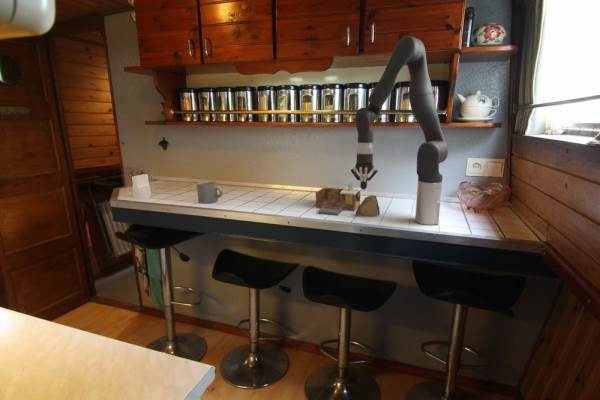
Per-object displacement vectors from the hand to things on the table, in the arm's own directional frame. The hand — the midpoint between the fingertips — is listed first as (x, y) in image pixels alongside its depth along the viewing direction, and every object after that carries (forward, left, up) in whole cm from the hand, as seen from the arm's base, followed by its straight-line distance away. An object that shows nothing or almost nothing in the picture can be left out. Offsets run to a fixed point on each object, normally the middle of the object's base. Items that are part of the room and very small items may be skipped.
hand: (363, 189), depth 163 cm
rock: (-4, +11, -10) cm, 15 cm away
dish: (+13, +12, -10) cm, 20 cm away
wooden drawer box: (+12, 0, -10) cm, 15 cm away
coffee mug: (+78, +14, -10) cm, 80 cm away
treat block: (+6, 0, -8) cm, 10 cm away
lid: (+6, 0, -2) cm, 6 cm away
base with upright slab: (+122, +17, -10) cm, 123 cm away
